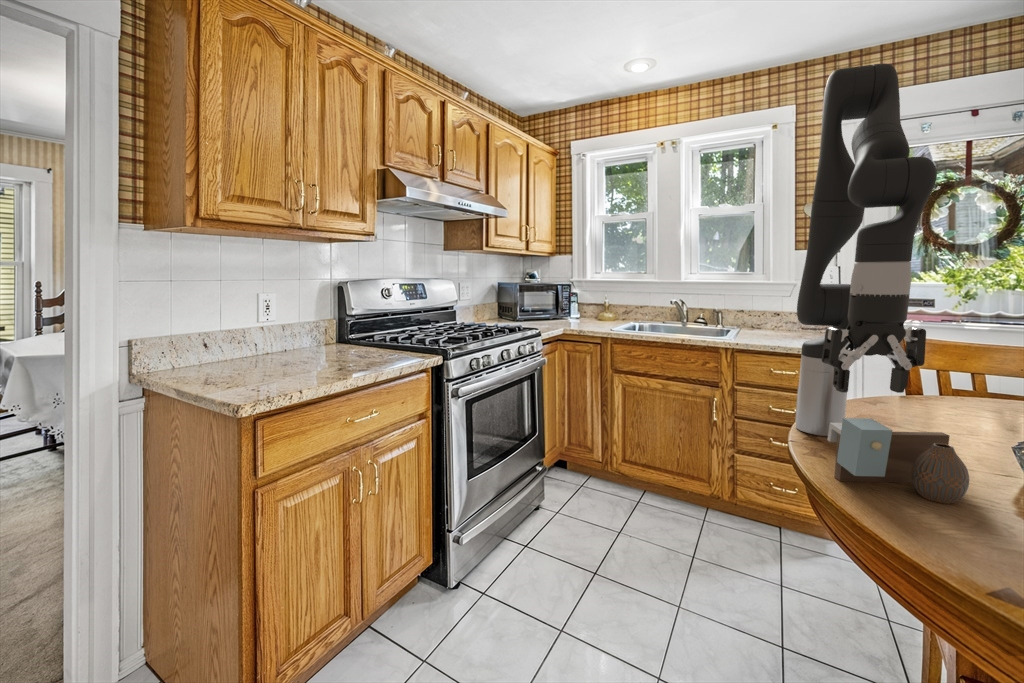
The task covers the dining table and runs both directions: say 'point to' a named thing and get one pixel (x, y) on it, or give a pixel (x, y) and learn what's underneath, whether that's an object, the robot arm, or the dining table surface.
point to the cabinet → (862, 445)
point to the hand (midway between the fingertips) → (868, 391)
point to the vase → (940, 474)
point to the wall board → (897, 456)
